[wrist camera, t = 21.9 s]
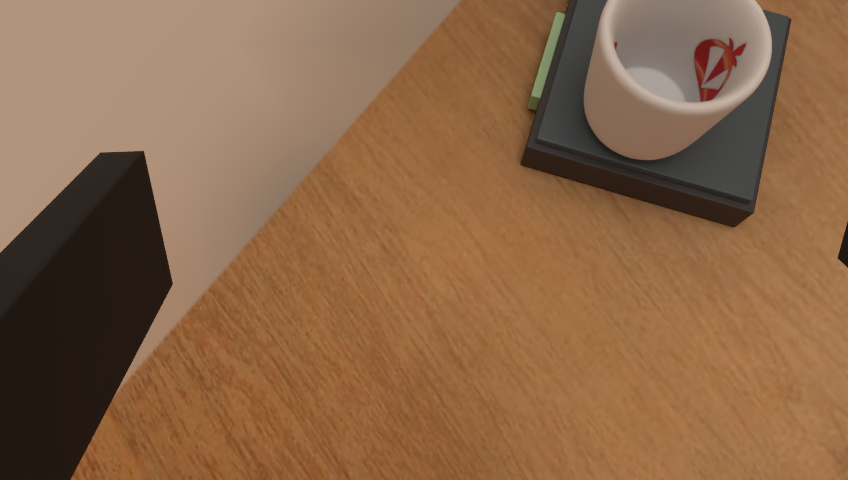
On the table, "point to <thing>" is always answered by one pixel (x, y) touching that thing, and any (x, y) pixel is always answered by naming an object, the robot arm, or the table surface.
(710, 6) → the cup
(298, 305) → the table surface
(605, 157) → the kitchen scale
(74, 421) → the robot arm
